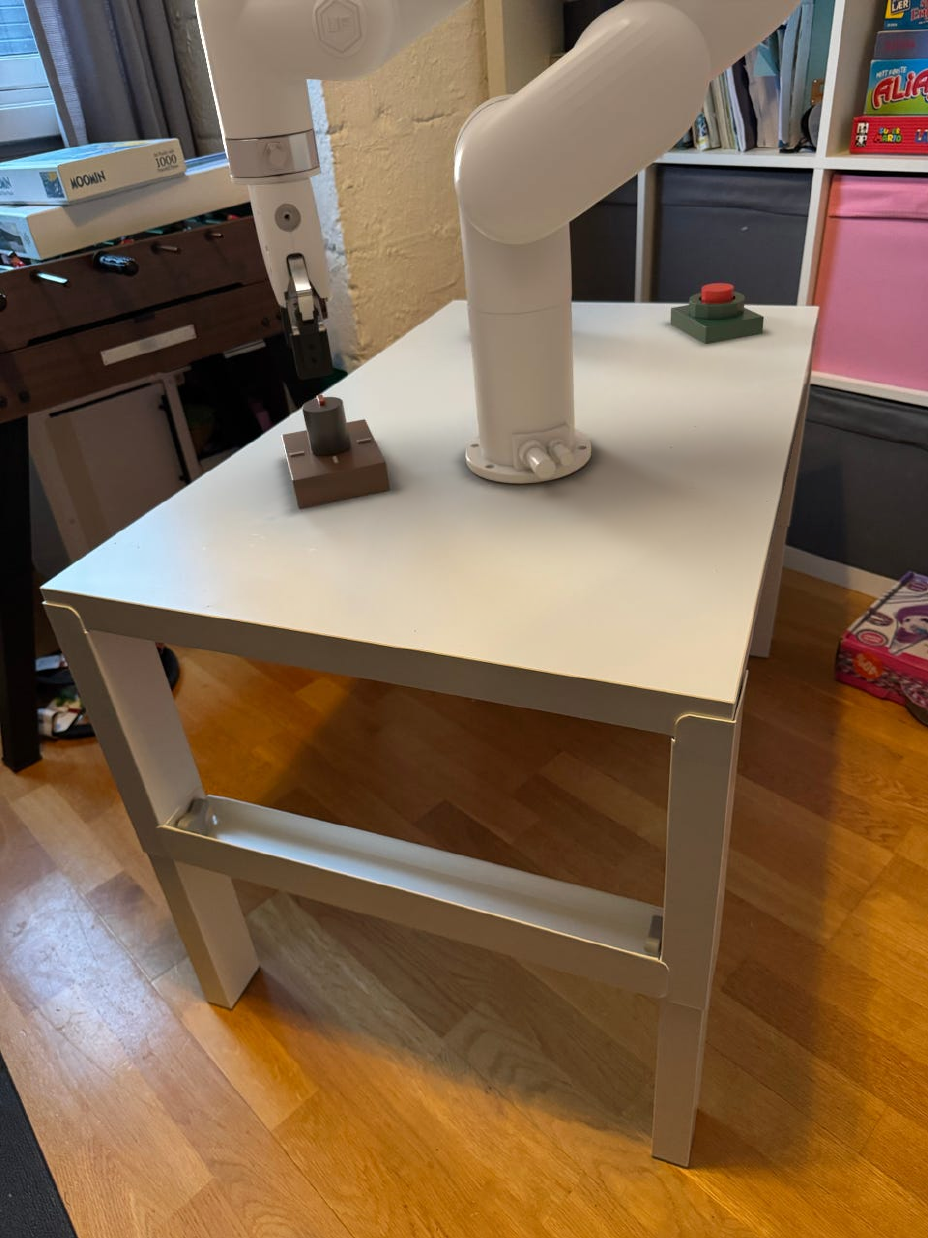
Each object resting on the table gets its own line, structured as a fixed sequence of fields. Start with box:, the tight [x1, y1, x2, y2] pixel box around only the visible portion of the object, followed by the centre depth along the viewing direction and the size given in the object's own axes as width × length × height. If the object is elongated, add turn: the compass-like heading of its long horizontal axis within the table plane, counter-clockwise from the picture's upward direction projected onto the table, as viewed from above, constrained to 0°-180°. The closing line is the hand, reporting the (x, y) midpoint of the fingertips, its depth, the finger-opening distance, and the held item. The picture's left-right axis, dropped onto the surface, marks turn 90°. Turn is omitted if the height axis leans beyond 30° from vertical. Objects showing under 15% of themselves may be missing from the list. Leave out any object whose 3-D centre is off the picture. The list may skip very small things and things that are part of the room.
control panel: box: [280, 418, 391, 510], centre depth 89 cm, size 12×9×3 cm
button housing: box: [670, 291, 765, 345], centre depth 115 cm, size 10×8×4 cm
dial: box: [301, 394, 351, 456], centre depth 87 cm, size 4×4×5 cm
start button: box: [700, 282, 735, 303], centre depth 114 cm, size 4×4×2 cm
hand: (309, 360), depth 83 cm, fingers open, 9 cm apart
